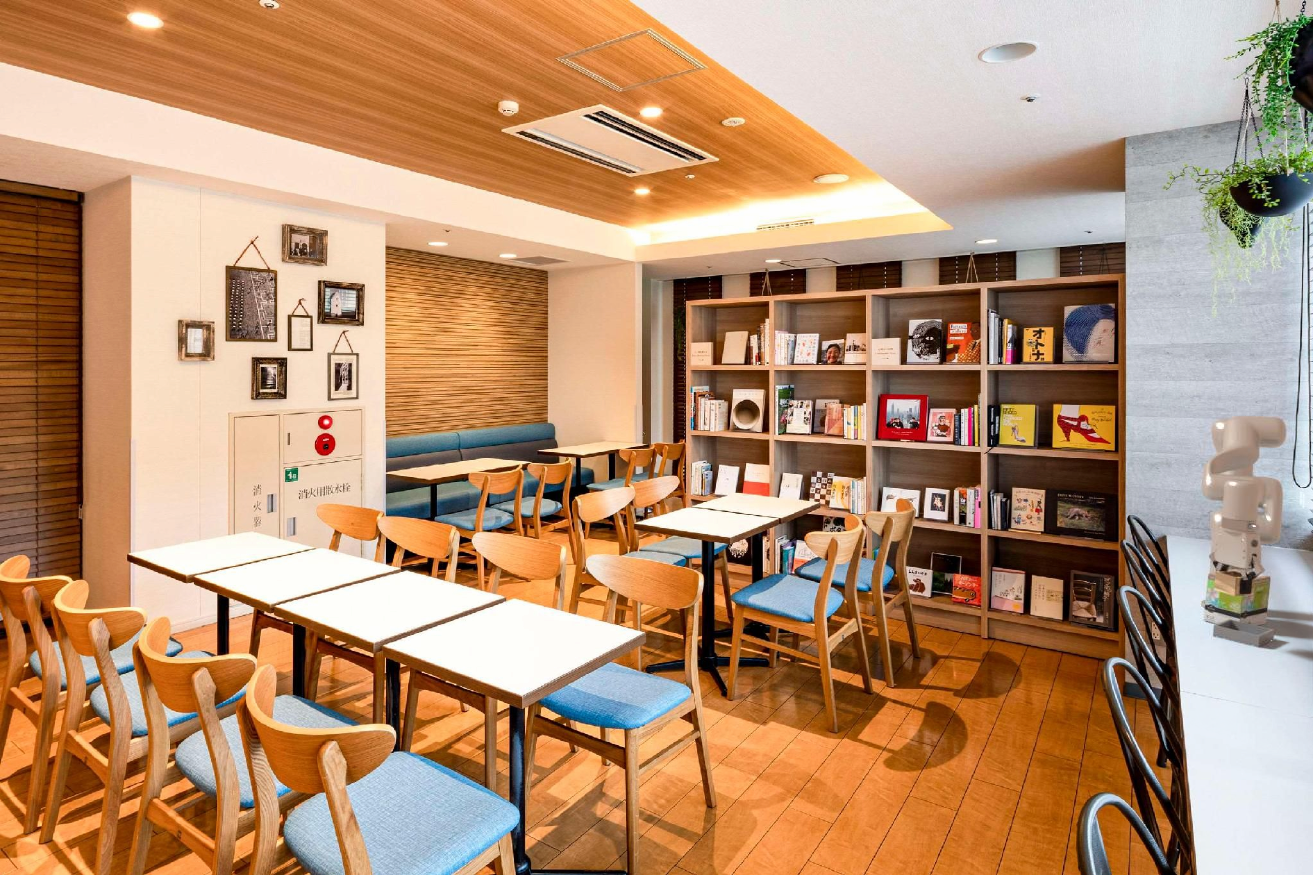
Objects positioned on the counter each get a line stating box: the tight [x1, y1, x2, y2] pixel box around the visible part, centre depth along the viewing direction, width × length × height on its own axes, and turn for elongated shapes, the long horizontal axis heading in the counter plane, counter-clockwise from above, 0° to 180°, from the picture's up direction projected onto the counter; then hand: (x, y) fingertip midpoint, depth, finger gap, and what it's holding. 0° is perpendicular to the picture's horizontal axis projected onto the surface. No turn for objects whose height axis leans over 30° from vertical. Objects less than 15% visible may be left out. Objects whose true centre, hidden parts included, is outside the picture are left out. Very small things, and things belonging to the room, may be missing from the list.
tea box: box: [1203, 569, 1271, 626], centre depth 226 cm, size 15×10×15 cm
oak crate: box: [1214, 571, 1254, 596], centre depth 207 cm, size 6×6×5 cm
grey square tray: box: [1212, 619, 1275, 648], centre depth 213 cm, size 11×11×3 cm
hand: (1233, 589), depth 207 cm, fingers closed on oak crate, 6 cm apart
